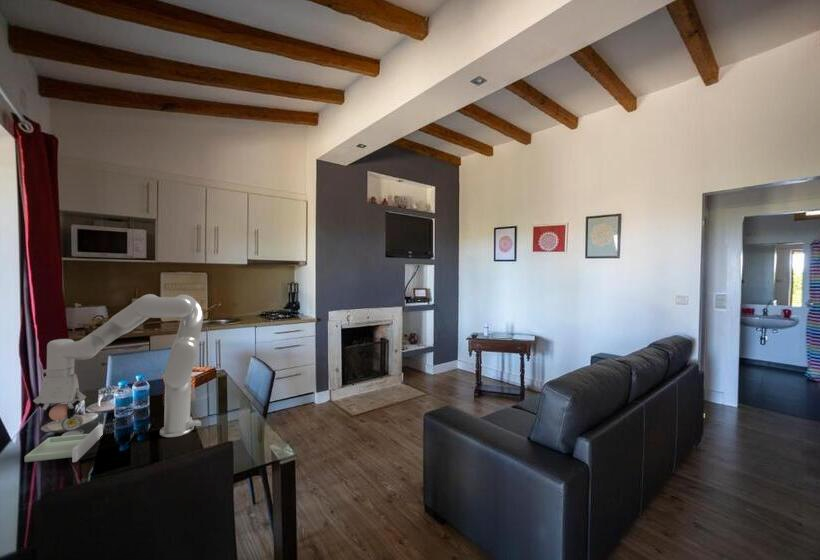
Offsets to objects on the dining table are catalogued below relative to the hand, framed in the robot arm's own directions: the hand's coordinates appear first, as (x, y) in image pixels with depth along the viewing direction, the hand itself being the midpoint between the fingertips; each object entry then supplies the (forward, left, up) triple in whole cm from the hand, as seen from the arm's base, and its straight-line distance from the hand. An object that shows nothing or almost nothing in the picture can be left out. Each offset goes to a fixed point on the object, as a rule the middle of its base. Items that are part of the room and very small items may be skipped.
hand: (59, 417), depth 136 cm
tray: (0, 0, -13) cm, 13 cm away
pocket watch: (+2, -13, -13) cm, 18 cm away
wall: (-9, +1, -13) cm, 16 cm away
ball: (0, 0, +2) cm, 2 cm away
